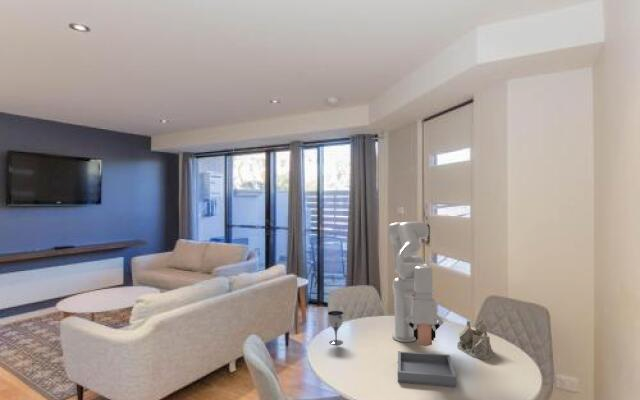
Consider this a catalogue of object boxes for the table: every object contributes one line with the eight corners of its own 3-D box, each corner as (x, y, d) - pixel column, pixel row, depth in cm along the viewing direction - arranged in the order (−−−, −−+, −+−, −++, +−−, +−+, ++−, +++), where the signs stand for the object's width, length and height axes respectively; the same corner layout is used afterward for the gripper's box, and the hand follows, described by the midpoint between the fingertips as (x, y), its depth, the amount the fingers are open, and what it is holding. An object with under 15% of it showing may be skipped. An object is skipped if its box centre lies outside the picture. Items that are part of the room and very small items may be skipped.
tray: (398, 360, 164) (398, 351, 164) (449, 363, 159) (449, 354, 159) (397, 382, 144) (397, 372, 144) (456, 387, 139) (456, 376, 139)
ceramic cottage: (459, 341, 183) (460, 312, 182) (495, 349, 174) (496, 319, 173) (452, 354, 170) (452, 323, 169) (490, 364, 161) (490, 331, 160)
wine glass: (342, 346, 180) (342, 315, 180) (327, 345, 182) (326, 315, 182) (344, 339, 188) (344, 310, 188) (329, 339, 190) (329, 310, 190)
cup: (416, 339, 155) (416, 318, 155) (431, 340, 153) (431, 319, 153) (417, 345, 149) (417, 323, 149) (432, 346, 148) (432, 324, 148)
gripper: (402, 297, 149) (403, 341, 149) (446, 298, 146) (447, 344, 146) (402, 292, 157) (403, 334, 157) (444, 294, 153) (445, 337, 153)
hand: (424, 338), depth 151 cm, fingers closed on cup, 6 cm apart
